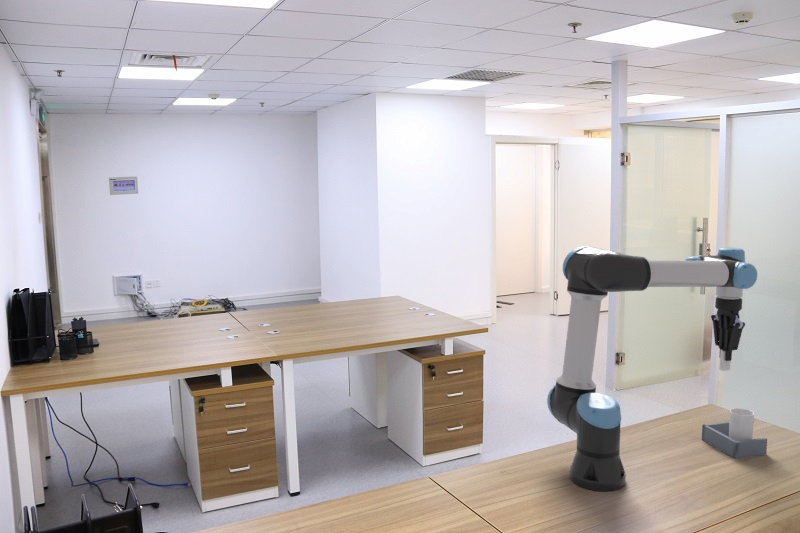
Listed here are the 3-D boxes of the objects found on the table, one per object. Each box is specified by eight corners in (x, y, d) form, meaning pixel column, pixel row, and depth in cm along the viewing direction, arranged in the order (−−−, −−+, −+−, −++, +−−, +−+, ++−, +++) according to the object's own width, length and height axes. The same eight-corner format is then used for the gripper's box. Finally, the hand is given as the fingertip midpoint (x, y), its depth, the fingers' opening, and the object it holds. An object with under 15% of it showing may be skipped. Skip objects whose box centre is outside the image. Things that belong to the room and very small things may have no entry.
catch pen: (735, 458, 198) (736, 442, 198) (701, 439, 213) (702, 424, 212) (766, 454, 201) (767, 438, 200) (731, 435, 215) (731, 420, 215)
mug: (756, 453, 202) (758, 416, 200) (732, 453, 202) (734, 415, 201) (742, 440, 212) (744, 404, 210) (720, 440, 212) (722, 404, 210)
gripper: (754, 300, 202) (749, 374, 205) (725, 292, 215) (721, 363, 218) (732, 301, 201) (728, 376, 204) (704, 293, 213) (701, 364, 217)
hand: (724, 369), depth 211 cm, fingers closed
